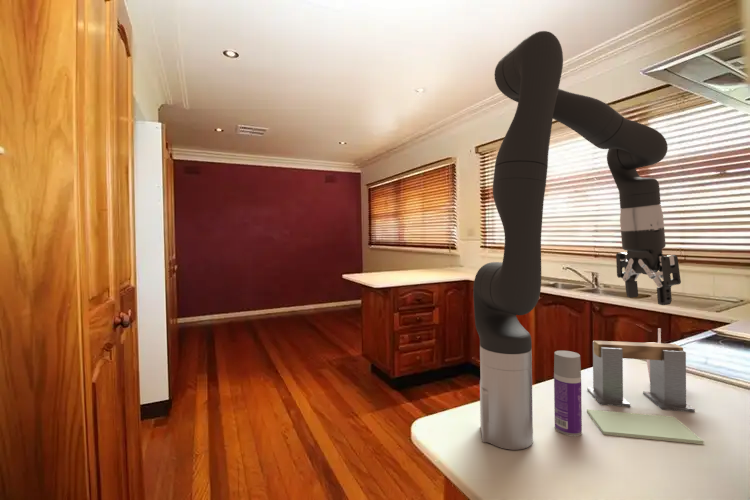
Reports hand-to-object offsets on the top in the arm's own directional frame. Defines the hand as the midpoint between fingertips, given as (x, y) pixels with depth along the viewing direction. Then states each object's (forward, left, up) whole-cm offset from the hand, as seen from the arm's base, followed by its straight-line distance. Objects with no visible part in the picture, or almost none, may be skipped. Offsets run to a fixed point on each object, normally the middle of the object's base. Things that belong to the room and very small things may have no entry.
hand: (647, 300), depth 77 cm
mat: (-6, -10, -24) cm, 26 cm away
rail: (-1, +3, -14) cm, 14 cm away
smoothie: (+9, +15, -24) cm, 30 cm away
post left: (-7, +3, -24) cm, 25 cm away
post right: (+5, +3, -24) cm, 24 cm away
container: (-20, -14, -24) cm, 34 cm away
